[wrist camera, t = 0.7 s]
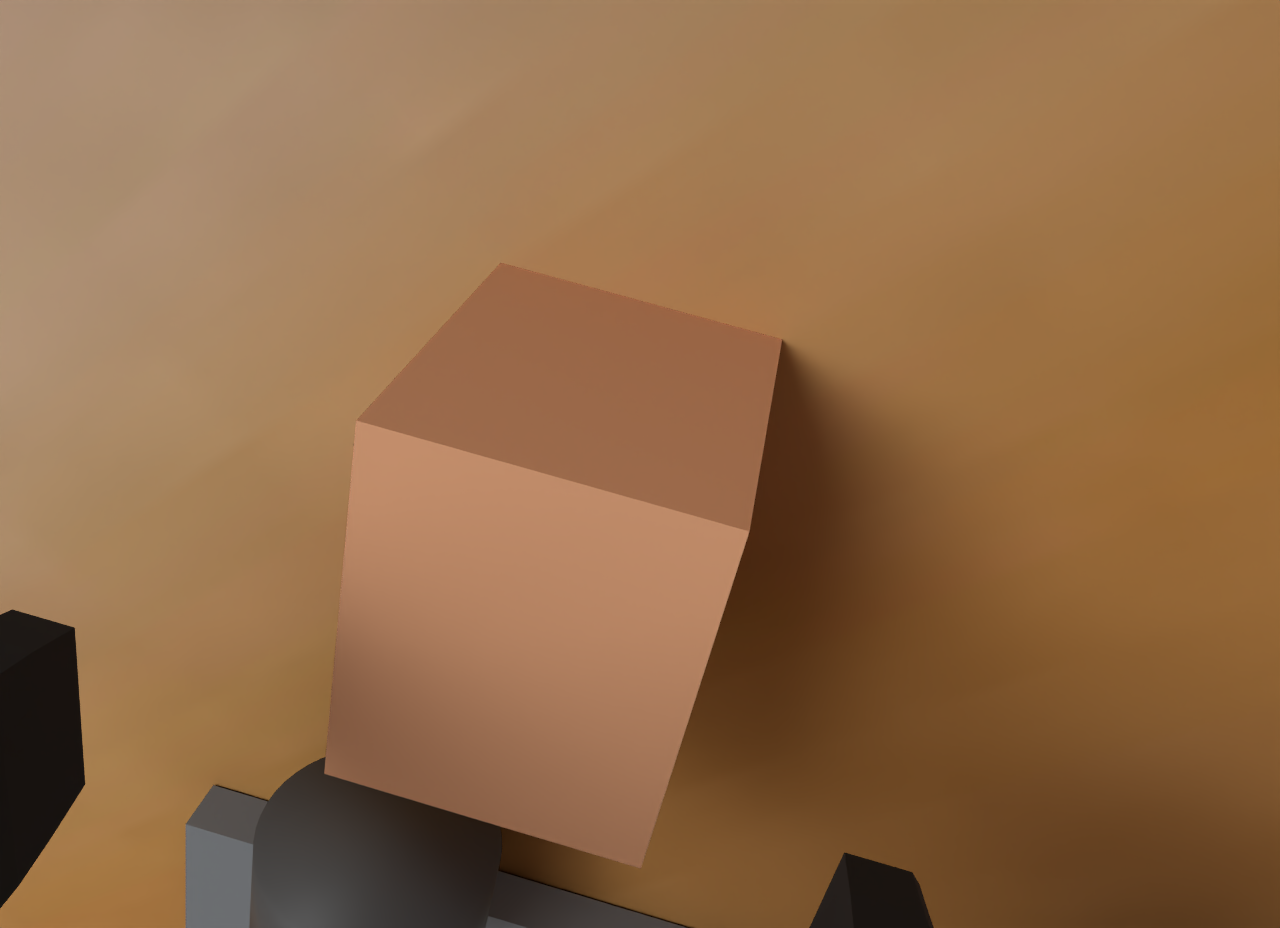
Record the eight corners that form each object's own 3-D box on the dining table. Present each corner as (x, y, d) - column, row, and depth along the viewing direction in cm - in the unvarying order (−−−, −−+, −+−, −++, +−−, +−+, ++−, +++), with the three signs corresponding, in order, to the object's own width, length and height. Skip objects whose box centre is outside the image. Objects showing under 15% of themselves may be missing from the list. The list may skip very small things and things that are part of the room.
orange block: (782, 337, 15) (749, 531, 10) (695, 619, 17) (640, 868, 13) (502, 261, 15) (356, 421, 11) (457, 550, 18) (324, 773, 13)
